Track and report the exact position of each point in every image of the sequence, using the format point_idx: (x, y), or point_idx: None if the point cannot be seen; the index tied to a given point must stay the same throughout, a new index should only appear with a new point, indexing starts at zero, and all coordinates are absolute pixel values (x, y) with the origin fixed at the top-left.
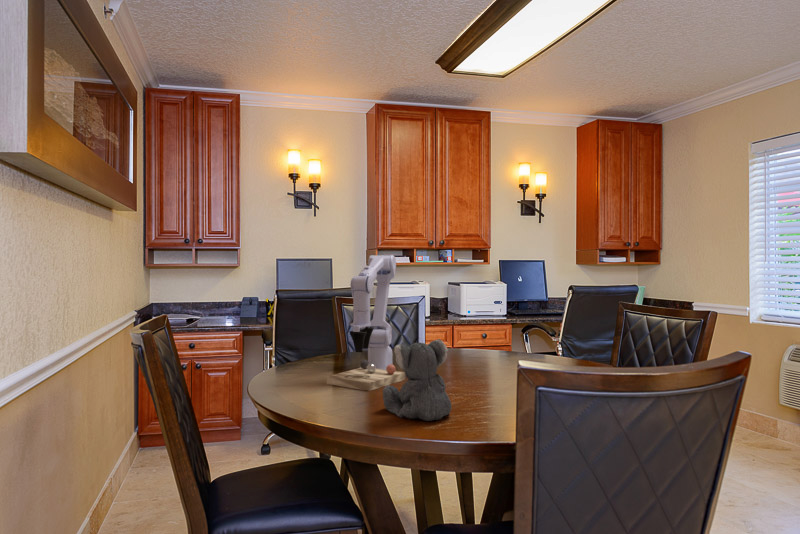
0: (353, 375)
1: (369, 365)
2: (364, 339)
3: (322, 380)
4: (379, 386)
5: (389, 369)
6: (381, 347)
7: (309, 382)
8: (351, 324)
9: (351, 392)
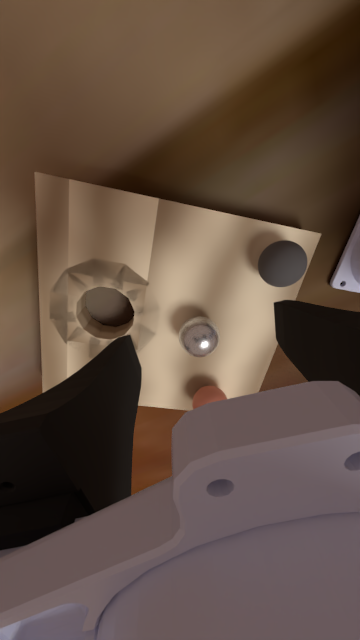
0: (120, 287)
1: (186, 342)
2: (314, 353)
3: (100, 104)
4: None
5: (193, 407)
6: None
7: (22, 53)
8: (174, 484)
9: (3, 341)
